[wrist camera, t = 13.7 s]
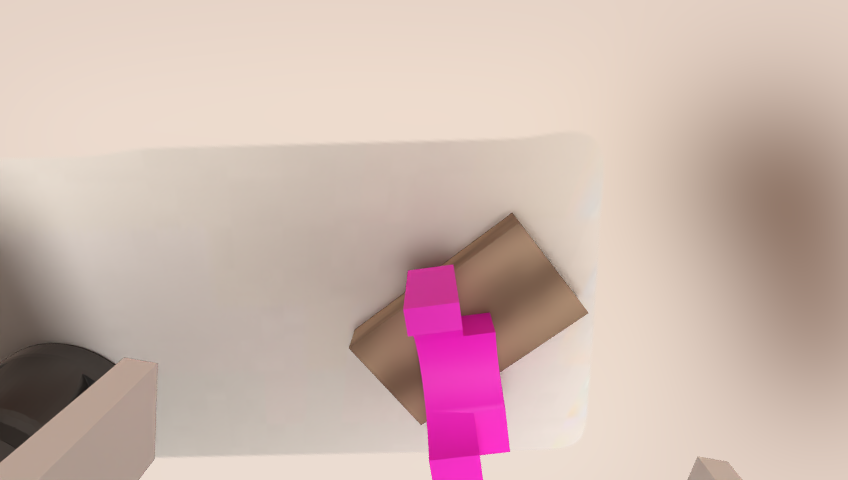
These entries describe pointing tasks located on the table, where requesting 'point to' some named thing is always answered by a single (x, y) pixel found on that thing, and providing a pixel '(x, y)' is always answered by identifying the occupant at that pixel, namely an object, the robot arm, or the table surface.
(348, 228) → the table surface
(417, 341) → the toy block
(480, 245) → the walnut base block
